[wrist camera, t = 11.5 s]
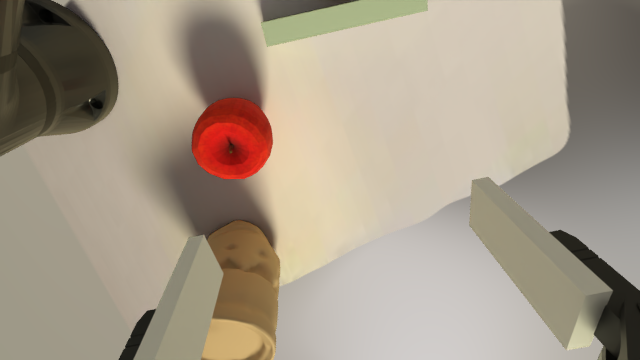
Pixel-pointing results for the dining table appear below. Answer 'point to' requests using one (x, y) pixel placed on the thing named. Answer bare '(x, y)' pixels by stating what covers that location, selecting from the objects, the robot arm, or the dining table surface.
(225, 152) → the apple
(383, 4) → the rail
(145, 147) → the dining table surface
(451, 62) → the dining table surface
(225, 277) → the container
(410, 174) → the dining table surface
